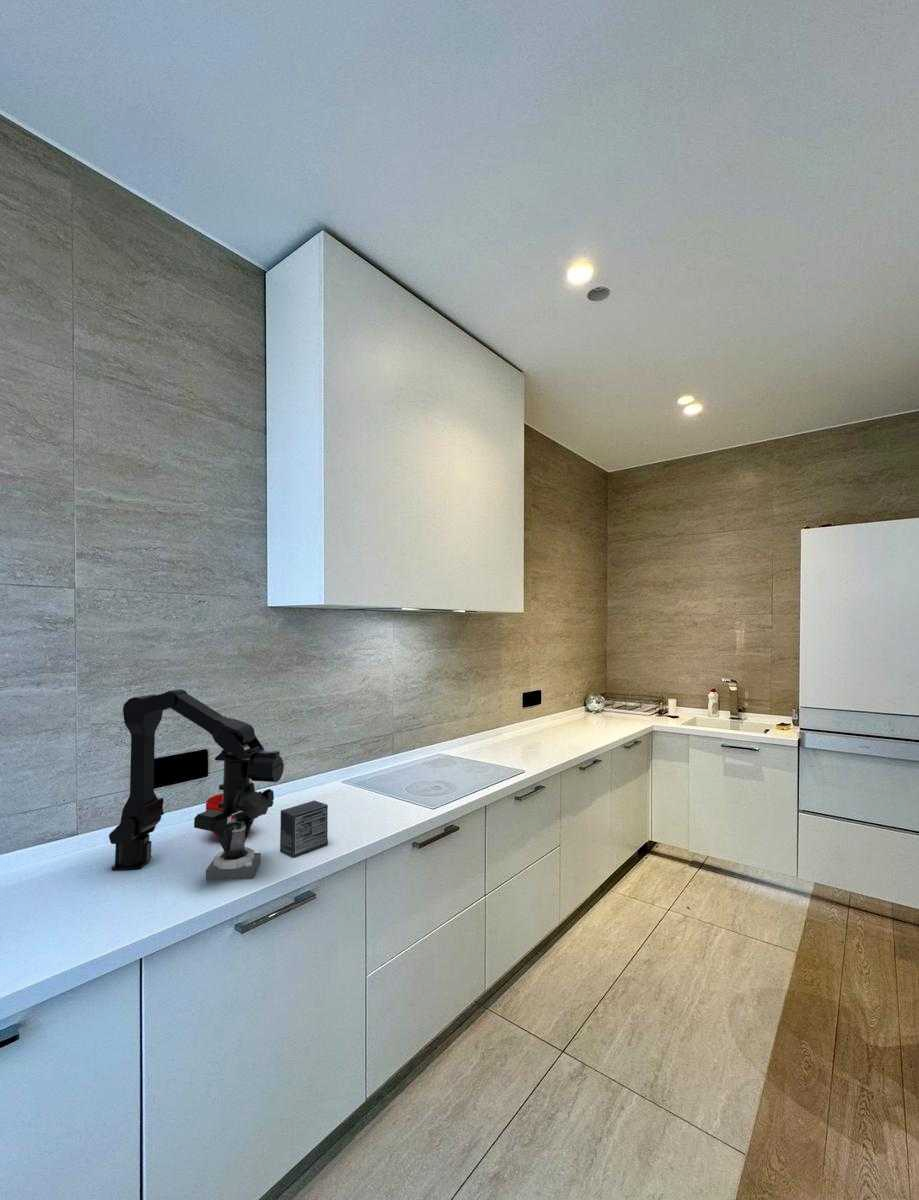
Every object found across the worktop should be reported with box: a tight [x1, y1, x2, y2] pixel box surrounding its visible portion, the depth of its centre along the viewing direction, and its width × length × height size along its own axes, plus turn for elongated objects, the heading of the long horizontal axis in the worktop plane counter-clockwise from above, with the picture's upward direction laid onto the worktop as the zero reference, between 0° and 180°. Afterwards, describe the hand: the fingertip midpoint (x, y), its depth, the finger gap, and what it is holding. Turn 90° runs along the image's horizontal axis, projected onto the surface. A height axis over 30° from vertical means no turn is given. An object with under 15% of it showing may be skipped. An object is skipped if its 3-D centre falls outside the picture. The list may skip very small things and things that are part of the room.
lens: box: [224, 818, 246, 860], centre depth 125 cm, size 5×5×8 cm
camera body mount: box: [205, 846, 262, 882], centre depth 125 cm, size 10×8×4 cm
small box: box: [279, 800, 329, 859], centre depth 139 cm, size 11×6×10 cm, turn 141°
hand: (234, 847), depth 125 cm, fingers closed on lens, 4 cm apart
